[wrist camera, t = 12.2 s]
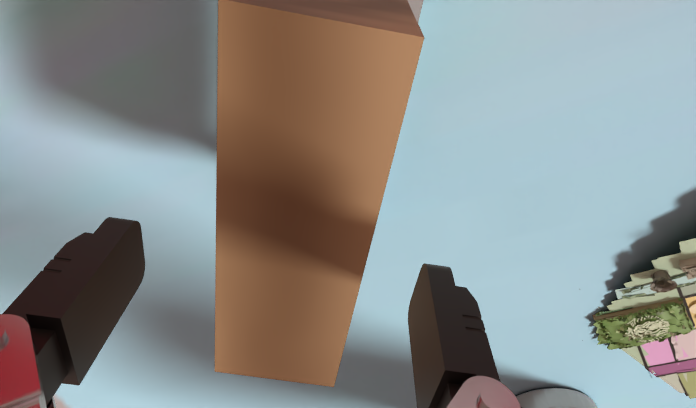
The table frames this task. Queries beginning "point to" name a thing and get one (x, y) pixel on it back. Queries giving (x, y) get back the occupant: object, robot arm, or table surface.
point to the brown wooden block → (302, 173)
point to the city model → (658, 319)
